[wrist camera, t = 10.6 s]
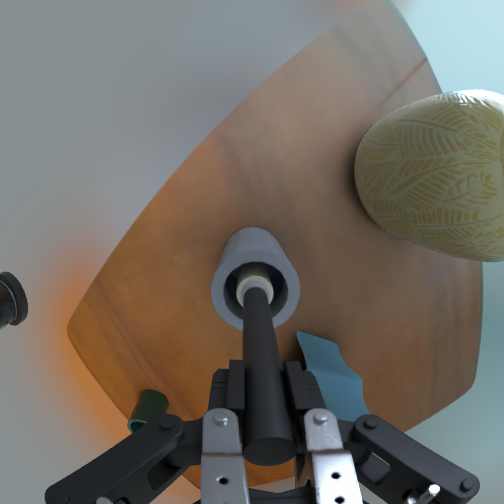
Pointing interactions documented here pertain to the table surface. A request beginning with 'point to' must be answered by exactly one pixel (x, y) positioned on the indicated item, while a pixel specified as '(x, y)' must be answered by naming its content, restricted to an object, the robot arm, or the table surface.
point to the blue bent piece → (333, 377)
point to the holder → (147, 409)
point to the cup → (279, 268)
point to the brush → (263, 375)
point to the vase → (438, 174)
